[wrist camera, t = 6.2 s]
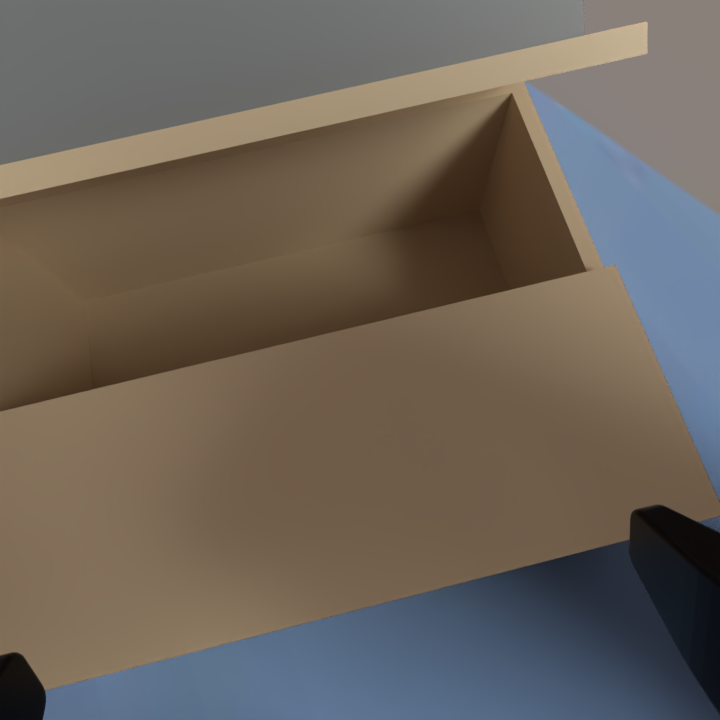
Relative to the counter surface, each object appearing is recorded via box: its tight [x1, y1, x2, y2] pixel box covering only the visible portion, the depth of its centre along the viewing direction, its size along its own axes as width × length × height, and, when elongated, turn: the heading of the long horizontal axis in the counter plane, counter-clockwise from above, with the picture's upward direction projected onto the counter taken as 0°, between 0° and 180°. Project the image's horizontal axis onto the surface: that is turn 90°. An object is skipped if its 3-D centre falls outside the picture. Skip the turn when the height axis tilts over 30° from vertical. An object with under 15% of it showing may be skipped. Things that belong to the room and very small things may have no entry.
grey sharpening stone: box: [0, 0, 648, 199], centre depth 13 cm, size 7×18×6 cm
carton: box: [0, 81, 720, 690], centre depth 19 cm, size 14×18×8 cm
